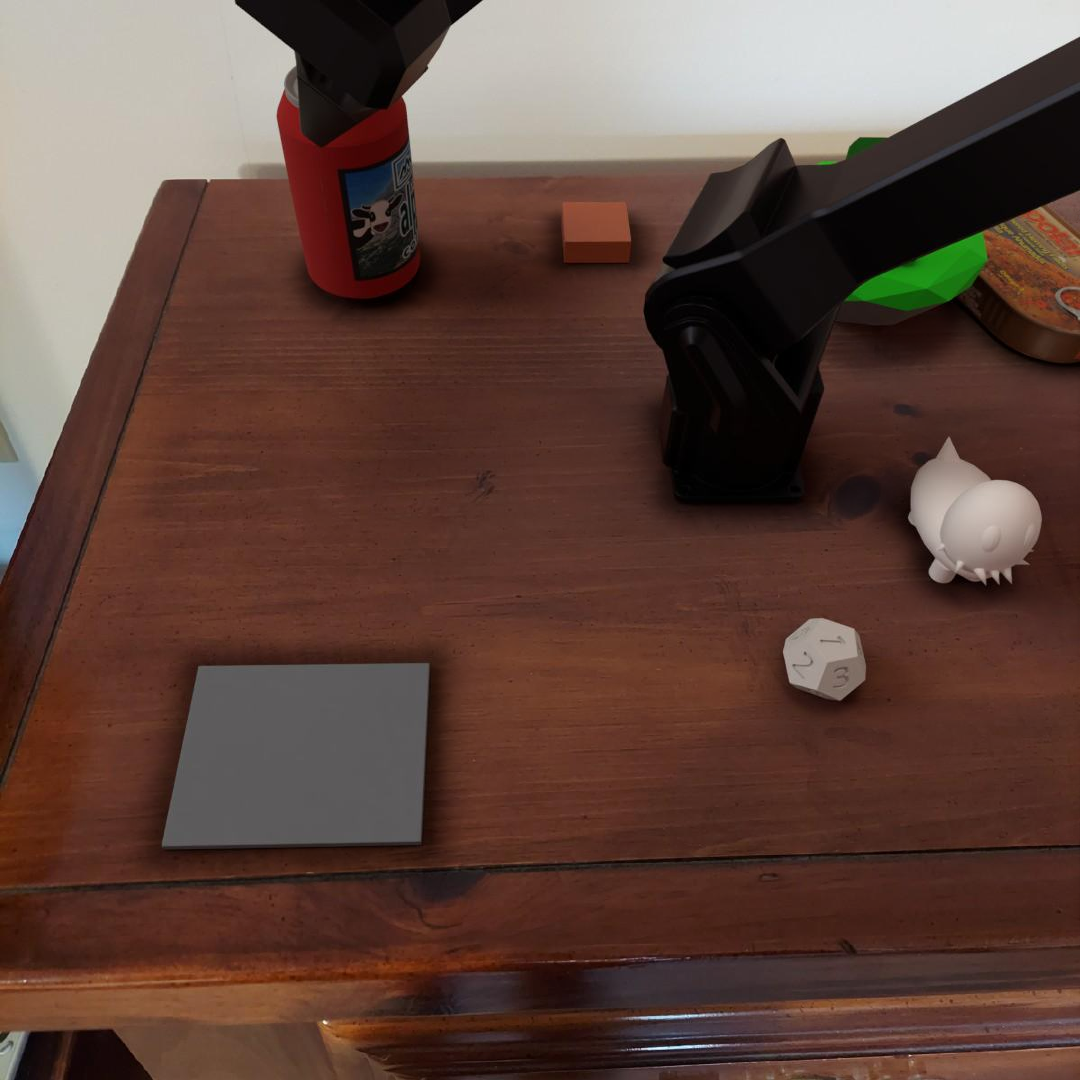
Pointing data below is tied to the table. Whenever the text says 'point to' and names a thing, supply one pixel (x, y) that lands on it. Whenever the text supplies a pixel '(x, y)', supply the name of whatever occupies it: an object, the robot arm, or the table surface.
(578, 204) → the terracotta tile
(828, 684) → the game die
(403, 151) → the beverage can
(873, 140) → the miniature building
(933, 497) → the toy creature
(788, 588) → the table surface
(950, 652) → the table surface
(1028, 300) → the tin
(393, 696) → the grey mat
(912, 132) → the robot arm
